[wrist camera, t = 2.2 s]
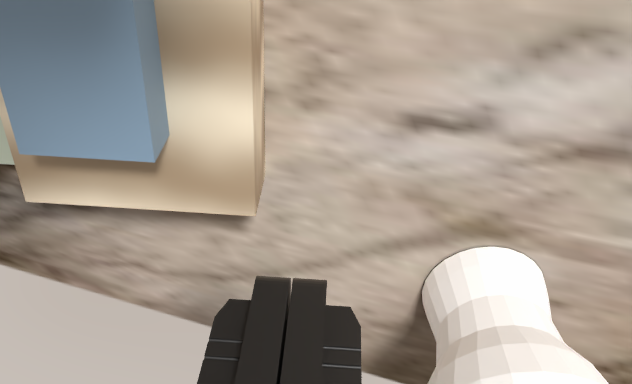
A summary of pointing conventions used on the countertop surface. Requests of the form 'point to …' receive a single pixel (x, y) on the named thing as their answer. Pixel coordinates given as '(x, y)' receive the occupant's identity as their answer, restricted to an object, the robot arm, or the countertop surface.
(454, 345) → the white vase
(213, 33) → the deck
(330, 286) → the countertop surface
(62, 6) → the tile
